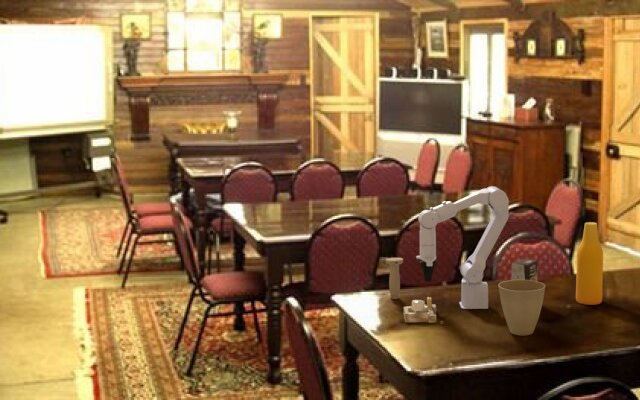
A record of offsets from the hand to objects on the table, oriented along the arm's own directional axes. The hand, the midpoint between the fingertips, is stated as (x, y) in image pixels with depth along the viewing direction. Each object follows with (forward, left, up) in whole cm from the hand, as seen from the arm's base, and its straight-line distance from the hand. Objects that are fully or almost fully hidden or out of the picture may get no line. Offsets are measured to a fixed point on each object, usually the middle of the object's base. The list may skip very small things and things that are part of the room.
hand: (427, 281), depth 334 cm
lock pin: (0, +10, -9) cm, 14 cm away
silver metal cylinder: (+5, +13, -10) cm, 17 cm away
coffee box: (-35, -2, -10) cm, 36 cm away
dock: (+4, +11, -10) cm, 15 cm away
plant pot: (-28, +30, -10) cm, 42 cm away
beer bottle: (-59, -6, -10) cm, 60 cm away
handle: (+11, -14, -10) cm, 20 cm away
